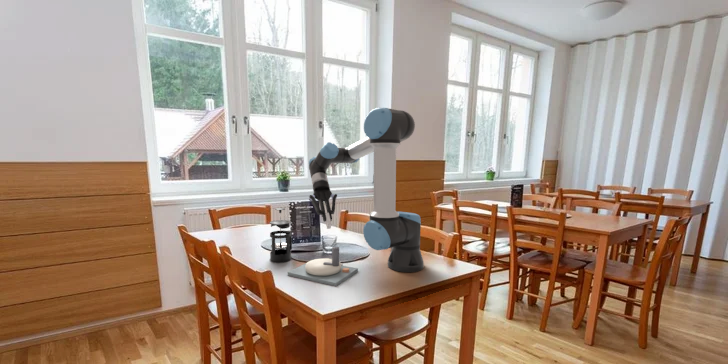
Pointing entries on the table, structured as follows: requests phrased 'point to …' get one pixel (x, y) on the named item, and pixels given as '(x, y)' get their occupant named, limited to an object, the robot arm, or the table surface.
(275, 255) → the french press
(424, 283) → the table surface
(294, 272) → the dial board
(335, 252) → the dial
